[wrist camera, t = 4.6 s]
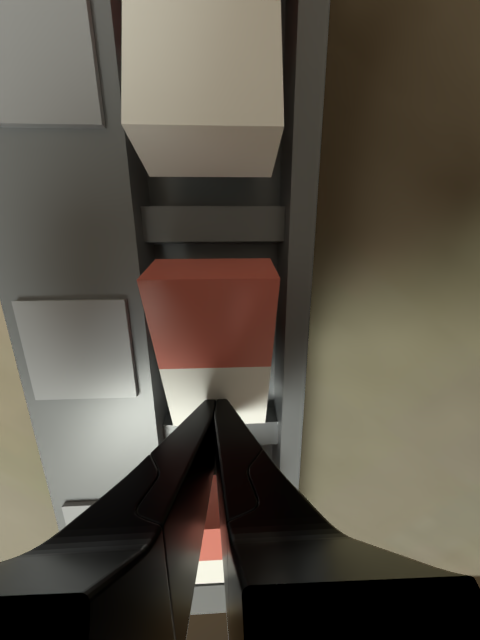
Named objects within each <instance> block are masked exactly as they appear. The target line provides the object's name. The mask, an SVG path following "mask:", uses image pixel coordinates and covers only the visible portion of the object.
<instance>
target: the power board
mask: <svg viewBox="0 0 480 640" xmlns="http://www.w3.org/2000/svg"><path fill="white" fill-rule="evenodd" d="M329 13H330V0H281V29H282V65H283V101H284V129H283V133H282V137H281V141H280V145H279V149H278V153H277V157H276V161H275V164H274V168H273V172H272V176H271V177H149V175H148V173H147V171H146V169H145V167H144V166H143V164H142V162H141V160H140V158H139V156H138V154H137V153H136V151H135V149H134V147H133V145H132V143H131V141H130V140H129V138H128V136H127V134H126V132H125V130H124V128H123V127H122V125H121V70H122V0H0V301H1V305H2V309H3V313H4V317H5V321H6V324H7V328H8V332H9V336H10V340H11V344H12V348H13V352H14V356H15V360H16V364H17V368H18V372H19V375H20V379H21V383H22V387H23V391H24V395H25V399H26V403H27V407H28V411H29V415H30V419H31V422H32V426H33V430H34V434H35V438H36V442H37V446H38V450H39V454H40V458H41V462H42V466H43V470H44V473H45V477H46V481H47V485H48V489H49V493H50V497H51V501H52V505H53V509H54V513H55V517H56V520H57V524H58V528H59V531H60V530H62V529H63V528H64V527H65V526H67V525H68V524H69V523H70V522H71V521H73V520H74V519H75V518H76V517H78V516H79V515H80V514H81V513H82V512H84V511H85V510H86V509H87V508H89V507H90V506H91V505H92V504H93V503H95V502H96V501H97V500H98V499H99V498H101V497H102V496H103V495H104V494H106V493H107V492H108V491H109V490H110V489H112V488H113V487H114V486H115V485H116V484H117V483H119V482H120V481H121V480H122V479H123V478H124V477H126V476H127V475H128V474H129V473H130V472H131V471H132V470H133V469H134V468H135V467H136V466H138V465H139V464H140V463H141V462H142V461H143V460H144V459H145V458H146V457H147V456H148V455H150V453H151V452H152V451H153V450H154V449H155V448H156V447H157V446H158V445H159V444H160V443H161V442H162V441H163V440H164V439H165V438H166V437H168V436H169V435H170V434H171V433H172V432H173V431H174V430H175V429H176V428H177V427H178V426H173V423H172V419H171V415H170V411H169V407H168V403H167V399H166V395H165V391H164V387H163V383H162V379H161V375H160V371H159V367H158V363H157V359H156V355H155V351H154V347H153V343H152V339H151V335H150V331H149V327H148V324H147V320H146V316H145V312H144V308H143V304H142V300H141V296H140V292H139V288H138V284H137V279H138V278H139V277H140V275H141V274H142V273H143V272H144V271H145V270H146V269H147V268H148V267H149V266H150V264H151V263H152V262H153V261H154V260H155V259H232V258H270V259H271V261H272V263H273V265H274V267H275V269H276V271H277V273H278V275H279V277H280V287H279V296H278V306H277V315H276V325H275V334H274V344H273V354H272V363H271V373H270V382H269V392H268V401H267V411H266V420H265V423H254V424H246V426H247V427H248V428H249V430H250V431H251V433H252V434H253V435H254V437H255V438H256V439H257V441H258V442H259V444H260V445H261V446H262V448H263V449H264V450H265V452H266V453H267V454H268V456H269V457H270V459H271V460H272V461H273V462H274V464H275V465H276V466H277V467H278V469H279V470H280V471H281V472H282V473H283V474H284V475H285V477H286V478H287V479H288V480H289V481H290V482H291V483H292V484H293V485H294V486H295V487H296V488H297V489H298V491H299V475H300V460H301V444H302V429H303V414H304V398H305V383H306V367H307V352H308V336H309V321H310V306H311V290H312V275H313V259H314V244H315V229H316V213H317V198H318V182H319V167H320V152H321V136H322V121H323V105H324V90H325V74H326V59H327V44H328V28H329ZM213 475H216V462H215V467H214V473H213ZM225 612H226V599H225V586H224V583H206V584H195V588H194V594H193V600H192V606H191V612H190V615H193V614H210V613H225Z"/></svg>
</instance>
